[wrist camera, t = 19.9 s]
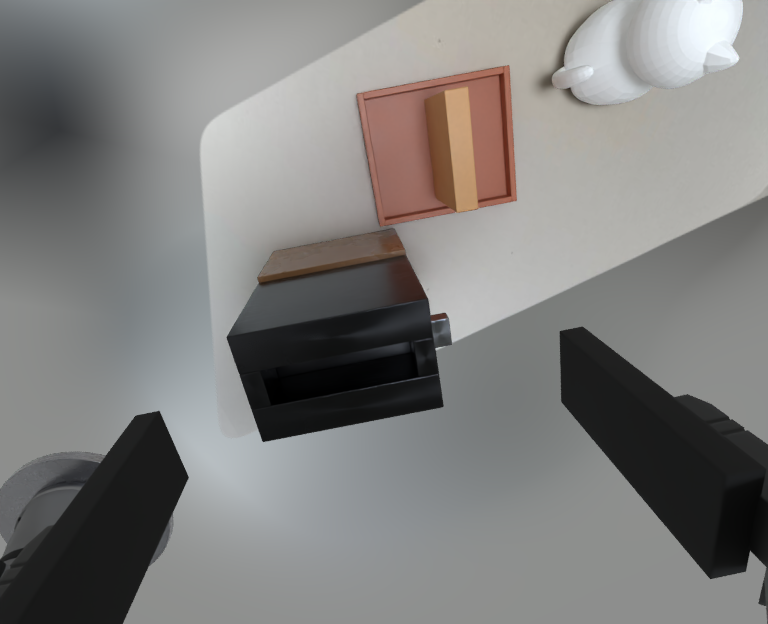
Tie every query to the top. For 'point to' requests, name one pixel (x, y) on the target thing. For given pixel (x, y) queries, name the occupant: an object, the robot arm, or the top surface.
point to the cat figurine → (648, 47)
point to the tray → (412, 151)
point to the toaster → (338, 337)
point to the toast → (452, 148)
